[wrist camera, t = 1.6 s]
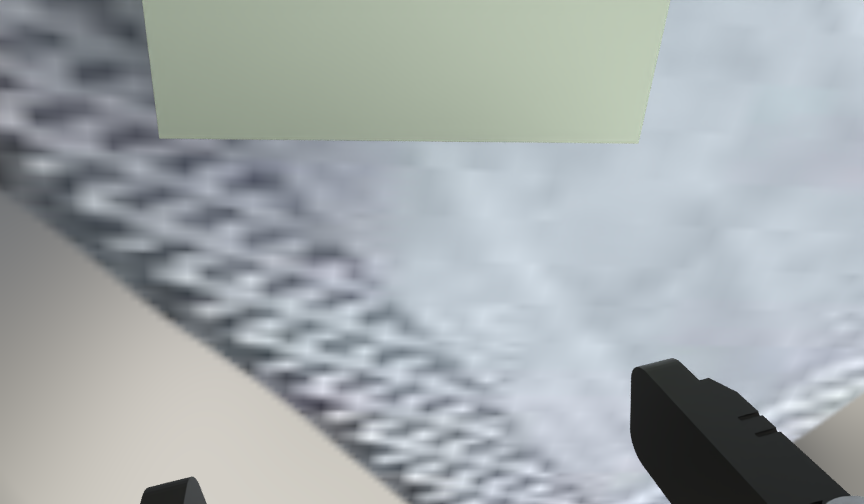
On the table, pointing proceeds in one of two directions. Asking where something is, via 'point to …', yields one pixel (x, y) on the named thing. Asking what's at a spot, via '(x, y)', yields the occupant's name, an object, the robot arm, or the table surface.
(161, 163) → the table surface
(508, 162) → the table surface
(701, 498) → the robot arm
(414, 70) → the box
